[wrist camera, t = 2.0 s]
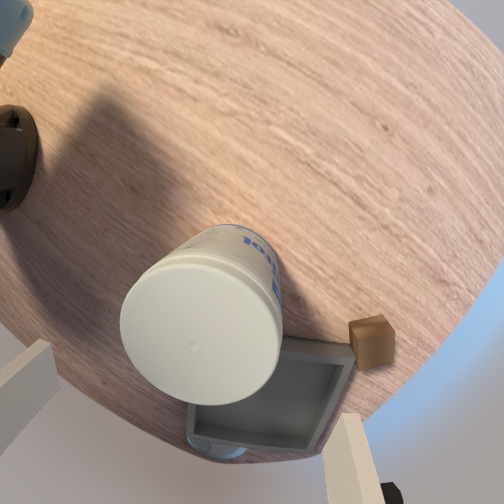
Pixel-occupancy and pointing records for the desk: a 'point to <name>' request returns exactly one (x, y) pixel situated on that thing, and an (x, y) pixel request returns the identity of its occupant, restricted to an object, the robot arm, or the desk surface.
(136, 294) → the supplement tub
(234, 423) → the tray
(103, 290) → the desk surface
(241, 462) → the desk surface
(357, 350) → the walnut block
